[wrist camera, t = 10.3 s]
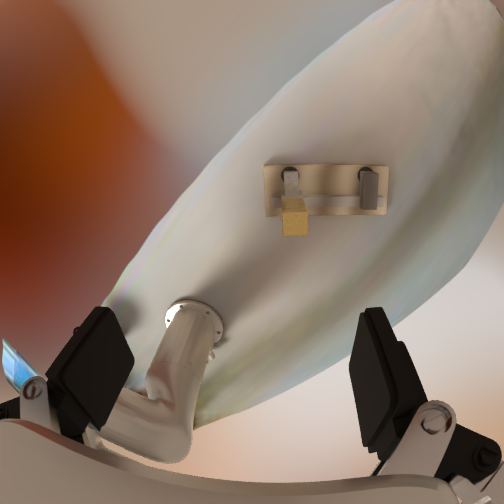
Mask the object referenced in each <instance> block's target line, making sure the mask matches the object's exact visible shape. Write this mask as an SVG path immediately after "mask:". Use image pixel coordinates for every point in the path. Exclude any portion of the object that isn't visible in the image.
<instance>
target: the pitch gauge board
mask: <svg viewBox="0 0 504 504" xmlns="http://www.w3.org/2000/svg"><path fill="white" fill-rule="evenodd" d="M284 171H298V182H299V190H301V191H302V193H303V199H304V202H305V205H306V208H307V211H308V215H386V208H387V195H388V178H389V167H387V166H382V165H357V164H288V165H264V166H263V173H264V189H265V205H266V217H271V216H282V200H281V191H285V190H284Z"/></svg>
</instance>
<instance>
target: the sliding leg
mask: <svg viewBox="0 0 504 504" xmlns="http://www.w3.org/2000/svg"><path fill="white" fill-rule="evenodd" d="M284 190H285V191H281V200H282V223H283V236H299V235H308V211H307V208H306V205H305V202H304V199H303V193H302V191H301V190H299V182H298V171H284Z"/></svg>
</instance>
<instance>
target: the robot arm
mask: <svg viewBox="0 0 504 504" xmlns="http://www.w3.org/2000/svg"><path fill="white" fill-rule="evenodd" d="M165 322H166V326H167V330H166V332H165V334H164V336H163V338H162V341H161V343H160V345H159V347H158V349H157V351H156V353H155V356H154V358H153V360H152V362H151V364H150V367H149V369H148V371H147V374H146V378H145V385H146V390H147V394H148V397H149V398H147V397H144V396H141V395H139V394H137V393H135V392H133V391H131V390H129V389H126V388H124V387H123V386H124V384H125V382H126V380H127V378H128V376H129V374H130V372H131V370H132V368H133V366H134V356H133V354H132V352H131V350H130V348H129V346H128V344H127V341H126V339H125V337H124V335H123V332H122V330H121V328H120V325H119V323H118V321H117V318H116V316H115V314H114V312H113V311H112V310H111V309H110V308H108V307H99V306H98V307H95V308H94V309H93V310H92V312H91V313H90V314H89V316H88V317H87V318H86V319H85V321H84V322H83V323H82V324H81V326H80V327H79V328H78V329H77V331H76V332H75V333H74V335H73V336H72V337H71V339H70V340H69V341H68V343H67V344H66V345H65V347H64V348H63V349H62V351H61V352H60V354H59V355H58V356H57V358H56V359H55V360H54V362H53V363H52V365H51V366H50V368H49V369H48V371H47V372H46V373H45V375H46V376H47V378H48V381H47V382H46V380H45V379H44V378H43V377H41V376H34V377H31V378H29V379H28V380H27V381H25V383H24V384H23V385H22V387H21V390H20V396H19V397H17V398H14V399H12V400H9V401H7V402H4V403H1V404H0V504H459V501H458V499H457V496H458V497H459V498H460V499H461V500H462V502H461V504H504V461H503V460H501V458H502V454H501V449H500V447H499V445H498V444H497V443H496V442H495V441H494V440H492V439H490V438H487V437H485V436H483V435H480V434H478V433H476V432H474V431H472V430H469V429H467V428H465V427H463V426H461V425H459V424H457V423H456V414H455V412H454V410H453V409H452V408H451V407H450V406H449V405H448V404H446V403H445V402H442V401H438V400H432V401H428V400H427V397H426V394H425V392H424V389H423V386H422V384H421V381H420V379H419V376H418V374H417V371H416V369H415V367H414V364H413V362H412V359H411V357H410V355H409V352H408V350H407V348H406V346H405V344H404V342H402V341H397V339H396V337H395V334H394V332H393V330H392V327H391V325H390V323H389V321H388V319H387V316H386V314H385V312H384V310H383V308H382V307H374V308H366V309H365V312H363V313H360V316H359V322H358V327H357V331H356V336H355V341H354V345H353V349H352V354H351V358H350V362H349V373H350V378H351V383H352V388H353V393H354V397H355V403H356V408H357V413H358V420H359V425H360V431H361V438H362V443H363V446H364V447H368V452H369V453H374V452H377V455H378V459H379V460H380V462H379V463H378V465H377V466H376V467H375V469H374V470H373V472H372V473H371V474H370V476H369V477H361V478H351V479H342V480H332V481H320V482H300V483H299V482H298V483H261V482H242V481H230V480H220V479H213V478H205V477H198V476H192V475H187V474H180V473H176V472H171V471H167V470H162V469H157V468H154V467H150V466H146V465H144V464H142V463H139V462H137V461H135V460H132V459H130V458H128V457H125V456H123V455H121V454H119V453H116V452H114V451H112V450H110V449H108V448H106V447H105V446H104V445H103V443H102V441H101V438H103V439H105V440H107V441H109V442H111V443H114V444H116V445H118V446H120V447H123V448H125V449H126V450H128V451H131V452H133V453H135V454H138V455H140V456H143V457H145V458H148V459H150V460H153V461H157V462H161V463H167V464H169V463H171V464H172V463H178V462H180V461H182V460H183V459H184V458H185V457H186V456H187V455H188V453H189V451H190V448H191V444H192V437H193V419H194V411H195V406H196V401H197V397H198V393H199V389H200V386H201V382H202V378H203V374H204V371H205V367H206V364H207V363H208V357H209V358H210V359H214V358H215V355H214V353H213V352H212V348H213V344H215V343H217V342H218V341H219V340H220V338H221V336H222V333H223V323H222V320H221V318H220V316H219V315H218V314H217V313H216V312H215V311H214V310H213V309H212V308H210V307H209V306H207V305H205V304H203V303H201V302H197V301H192V300H183V301H179V302H176V303H174V304H173V305H171V307H170V308H169V309H168V311H167V313H166V316H165ZM456 495H457V496H456Z"/></svg>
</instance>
